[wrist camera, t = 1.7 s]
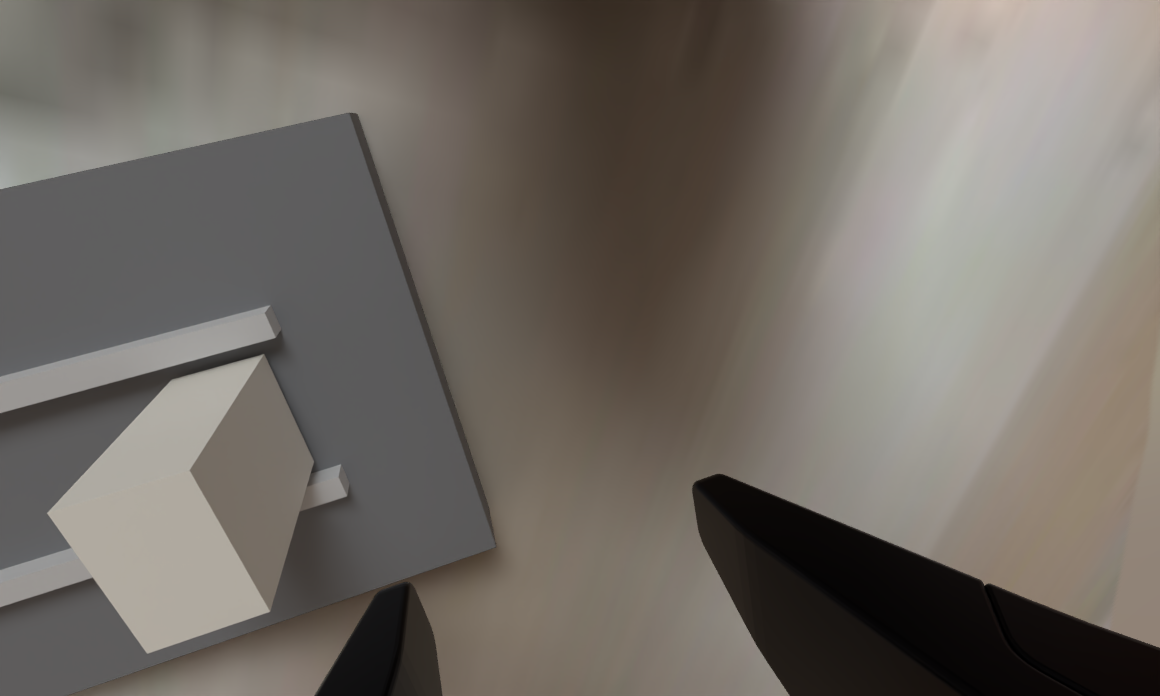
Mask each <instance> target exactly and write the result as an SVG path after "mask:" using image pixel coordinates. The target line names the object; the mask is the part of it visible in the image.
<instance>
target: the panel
mask: <svg viewBox="0 0 1160 696" xmlns="http://www.w3.org/2000/svg"><path fill="white" fill-rule="evenodd" d="M262 354H264V355H265V357H266V359H267V361H268V363H269V365H270V368H271V370H272V372H273V374H274V376H275V378H276V381H277V383H278V385H279V387H280V389H281V391H282V393H283V396H284V398H285V400H286V402H287V404H288V406H289V409H290V411H291V413H292V415H293V417H294V419H295V422H296V424H297V426H298V428H299V430H300V432H301V434H302V437H303V439H304V441H305V443H306V445H307V447H308V450H309V452H310V454H311V456H312V458H313V460H314V464H313V467H312V470H311V474H310V477H309V481H308V484H307V487H306V491H305V494H304V498H303V501H302V505H301V508H300V511H299V515H298V518H297V522H296V525H295V528H294V532H293V535H292V539H291V542H290V545H289V549H288V552H287V556H286V559H285V563H284V566H283V569H282V573H281V576H280V580H279V583H278V586H277V590H276V593H275V597H274V600H273V603H272V607H271V610H270V612H268V613H265V614H262V615H259V616H256V617H253V618H250V619H247V620H244V621H242V622H239V623H236V624H233V625H230V626H227V627H224V628H221V629H218V630H215V631H212V632H209V633H207V634H204V635H201V636H198V637H195V638H192V639H189V640H186V641H183V642H180V643H177V644H174V645H172V646H169V647H166V648H163V649H160V650H157V651H154V652H151V653H148V654H147V653H146V651H145V650H144V649H143V647H142V646H141V644H140V643H139V642H138V640H137V639H136V637H135V636H134V635H133V633H132V632H131V630H130V629H129V628H128V626H127V625H126V623H125V622H124V621H123V619H122V618H121V616H120V615H119V614H118V612H117V611H116V609H115V608H114V606H113V605H112V604H111V602H110V601H109V599H108V598H107V597H106V595H105V594H104V592H103V591H102V590H101V588H100V587H99V585H98V584H97V583H96V581H95V580H94V578H93V577H92V576H91V574H90V573H89V571H88V570H87V569H86V567H85V566H84V564H83V563H82V562H81V560H80V559H79V557H78V556H77V555H76V553H75V552H74V550H73V549H72V548H71V546H70V545H69V543H68V542H67V540H66V539H65V538H64V536H63V535H62V533H61V532H60V531H59V529H58V528H57V526H56V525H55V524H54V522H53V521H52V519H51V518H50V517H49V515H48V514H47V513H48V512H49V510H50V509H51V508H52V507H53V506H54V505H55V504H56V503H57V502H58V501H59V500H60V499H61V498H62V497H63V495H64V494H65V493H66V492H67V491H68V490H69V489H70V488H71V487H72V486H73V485H74V484H75V483H76V482H77V481H78V479H79V478H80V477H81V476H82V475H83V474H84V473H85V472H86V471H87V470H88V469H89V468H90V467H91V466H92V464H93V463H94V462H95V461H96V460H97V459H98V458H99V457H100V456H101V455H102V454H103V453H104V452H105V451H106V449H107V448H108V447H109V446H110V445H111V444H112V443H113V442H114V441H115V440H116V439H117V438H118V437H119V436H120V434H121V433H122V432H123V431H124V430H125V429H126V428H127V427H128V426H129V425H130V424H131V423H132V422H133V421H134V420H135V418H136V417H137V416H138V415H139V414H140V413H141V412H142V411H143V410H144V409H145V408H146V407H147V406H148V405H149V403H150V402H151V401H152V400H153V399H154V398H155V397H156V396H157V395H158V394H159V393H160V392H161V391H162V390H163V388H164V387H165V386H166V385H167V384H168V383H169V382H170V381H171V380H172V379H175V378H179V377H183V376H186V375H190V374H194V373H197V372H201V371H204V370H208V369H212V368H215V367H219V366H222V365H226V364H230V363H233V362H237V361H241V360H244V359H248V358H251V357H255V356H259V355H262ZM495 547H496V543H495V538H494V533H493V527H492V522H491V517H490V512H489V507H488V504H487V501H486V498H485V495H484V492H483V489H482V486H481V483H480V480H479V477H478V474H477V471H476V468H475V465H474V462H473V459H472V456H471V453H470V450H469V447H468V444H467V441H466V438H465V435H464V432H463V429H462V426H461V423H460V420H459V417H458V414H457V411H456V408H455V405H454V402H453V399H452V396H451V393H450V390H449V387H448V384H447V381H446V378H445V375H444V372H443V369H442V366H441V363H440V360H439V357H438V354H437V351H436V348H435V345H434V342H433V339H432V336H431V333H430V330H429V327H428V324H427V321H426V318H425V315H424V312H423V309H422V306H421V303H420V300H419V297H418V294H417V291H416V288H415V285H414V282H413V279H412V276H411V273H410V270H409V267H408V264H407V261H406V258H405V255H404V252H403V249H402V246H401V243H400V240H399V237H398V234H397V231H396V228H395V225H394V222H393V219H392V216H391V213H390V210H389V207H388V204H387V201H386V198H385V195H384V192H383V189H382V186H381V183H380V180H379V177H378V174H377V171H376V168H375V165H374V162H373V159H372V156H371V153H370V150H369V147H368V144H367V141H366V138H365V135H364V132H363V129H362V126H361V123H360V120H359V117H358V114H356V113H346V114H341V115H337V116H332V117H327V118H323V119H318V120H314V121H309V122H305V123H300V124H296V125H291V126H287V127H282V128H277V129H273V130H268V131H264V132H259V133H255V134H250V135H246V136H241V137H237V138H232V139H227V140H223V141H218V142H214V143H209V144H205V145H200V146H196V147H191V148H187V149H182V150H177V151H173V152H168V153H164V154H159V155H155V156H150V157H146V158H141V159H137V160H132V161H127V162H123V163H118V164H114V165H109V166H105V167H100V168H96V169H91V170H87V171H82V172H77V173H73V174H68V175H64V176H59V177H55V178H50V179H46V180H41V181H37V182H32V183H27V184H23V185H18V186H14V187H9V188H5V189H0V696H67V695H70V694H73V693H76V692H79V691H82V690H85V689H88V688H91V687H93V686H96V685H99V684H102V683H105V682H108V681H111V680H114V679H117V678H119V677H122V676H125V675H128V674H131V673H134V672H137V671H140V670H143V669H145V668H148V667H151V666H154V665H157V664H160V663H163V662H166V661H169V660H171V659H174V658H177V657H180V656H183V655H186V654H189V653H192V652H195V651H197V650H200V649H203V648H206V647H209V646H212V645H215V644H218V643H221V642H224V641H226V640H229V639H232V638H235V637H238V636H241V635H244V634H247V633H250V632H252V631H255V630H258V629H261V628H264V627H267V626H270V625H273V624H276V623H278V622H281V621H284V620H287V619H290V618H293V617H296V616H299V615H302V614H304V613H307V612H310V611H313V610H316V609H319V608H322V607H325V606H328V605H330V604H333V603H336V602H339V601H342V600H345V599H348V598H351V597H354V596H356V595H359V594H362V593H365V592H368V591H371V590H374V589H377V588H380V587H382V586H385V585H388V584H391V583H394V582H397V581H400V580H403V579H406V578H409V577H411V576H414V575H417V574H420V573H423V572H426V571H429V570H432V569H435V568H437V567H440V566H443V565H446V564H449V563H452V562H455V561H458V560H461V559H463V558H466V557H469V556H472V555H475V554H478V553H481V552H484V551H487V550H489V549H492V548H495Z"/></svg>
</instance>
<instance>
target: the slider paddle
mask: <svg viewBox="0 0 1160 696" xmlns="http://www.w3.org/2000/svg"><path fill="white" fill-rule="evenodd" d="M313 464H314V460H313V458H312V456H311V454H310V452H309V450H308V447H307V445H306V443H305V441H304V439H303V437H302V434H301V432H300V430H299V428H298V426H297V424H296V422H295V419H294V417H293V415H292V413H291V411H290V409H289V406H288V404H287V402H286V400H285V398H284V396H283V393H282V391H281V389H280V387H279V385H278V383H277V381H276V378H275V376H274V374H273V372H272V370H271V368H270V365H269V363H268V361H267V359H266V357H265V355H264V354H262V355H259V356H255V357H251V358H248V359H244V360H241V361H237V362H233V363H230V364H226V365H222V366H219V367H215V368H212V369H208V370H204V371H201V372H197V373H194V374H190V375H186V376H183V377H179V378H175V379H172V380H171V381H170V382H169V383H168V384H167V385H166V386H165V387H164V388H163V390H162V391H161V392H160V393H159V394H158V395H157V396H156V397H155V398H154V399H153V400H152V401H151V402H150V403H149V405H148V406H147V407H146V408H145V409H144V410H143V411H142V412H141V413H140V414H139V415H138V416H137V417H136V418H135V420H134V421H133V422H132V423H131V424H130V425H129V426H128V427H127V428H126V429H125V430H124V431H123V432H122V433H121V434H120V436H119V437H118V438H117V439H116V440H115V441H114V442H113V443H112V444H111V445H110V446H109V447H108V448H107V449H106V451H105V452H104V453H103V454H102V455H101V456H100V457H99V458H98V459H97V460H96V461H95V462H94V463H93V464H92V466H91V467H90V468H89V469H88V470H87V471H86V472H85V473H84V474H83V475H82V476H81V477H80V478H79V479H78V481H77V482H76V483H75V484H74V485H73V486H72V487H71V488H70V489H69V490H68V491H67V492H66V493H65V494H64V495H63V497H62V498H61V499H60V500H59V501H58V502H57V503H56V504H55V505H54V506H53V507H52V508H51V509H50V510H49V512H48V513H47V514H48V515H49V517H50V518H51V519H52V521H53V522H54V524H55V525H56V526H57V528H58V529H59V531H60V532H61V533H62V535H63V536H64V538H65V539H66V540H67V542H68V543H69V545H70V546H71V548H72V549H73V550H74V552H75V553H76V555H77V556H78V557H79V559H80V560H81V562H82V563H83V564H84V566H85V567H86V569H87V570H88V571H89V573H90V574H91V576H92V577H93V578H94V580H95V581H96V583H97V584H98V585H99V587H100V588H101V590H102V591H103V592H104V594H105V595H106V597H107V598H108V599H109V601H110V602H111V604H112V605H113V606H114V608H115V609H116V611H117V612H118V614H119V615H120V616H121V618H122V619H123V621H124V622H125V623H126V625H127V626H128V628H129V629H130V630H131V632H132V633H133V635H134V636H135V637H136V639H137V640H138V642H139V643H140V644H141V646H142V647H143V649H144V650H145V651H146V653H147V654H148V653H151V652H154V651H157V650H160V649H163V648H166V647H169V646H172V645H174V644H177V643H180V642H183V641H186V640H189V639H192V638H195V637H198V636H201V635H204V634H207V633H209V632H212V631H215V630H218V629H221V628H224V627H227V626H230V625H233V624H236V623H239V622H242V621H244V620H247V619H250V618H253V617H256V616H259V615H262V614H265V613H268V612H270V610H271V607H272V603H273V600H274V597H275V593H276V590H277V586H278V583H279V580H280V576H281V573H282V569H283V566H284V563H285V559H286V556H287V552H288V549H289V545H290V542H291V539H292V535H293V532H294V528H295V525H296V522H297V518H298V515H299V511H300V508H301V505H302V501H303V498H304V494H305V491H306V487H307V484H308V481H309V477H310V474H311V470H312V467H313Z"/></svg>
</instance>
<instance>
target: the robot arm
mask: <svg viewBox="0 0 1160 696" xmlns="http://www.w3.org/2000/svg"><path fill="white" fill-rule="evenodd" d="M692 493H693V499H694V506H695V512H696V518H697V525H698V530H699V534H700V537H701V540H702V542H703V545H704V547H705V549H706V551H707V553H708V554H709V556H710V558H711V560H712V562H713V564H714V566H715V568H716V570H717V572H718V574H719V575H720V577H721V579H722V581H723V583H724V585H725V587H726V589H727V591H728V593H729V594H730V596H731V598H732V600H733V602H734V604H735V606H736V608H737V610H738V612H739V613H740V615H741V617H742V619H743V621H744V623H745V625H746V627H747V629H748V630H749V632H750V634H751V636H752V638H753V640H754V641H755V643H756V645H757V647H758V648H759V650H760V651H761V653H762V655H763V656H764V658H765V659H766V661H767V662H768V664H769V665H770V667H771V668H772V670H773V671H774V673H775V674H776V676H777V677H778V679H779V680H780V682H781V683H782V685H783V686H784V688H785V689H786V691H787V692H788V694H789V695H790V696H1160V648H1159V647H1156V646H1153V645H1150V644H1148V643H1145V642H1142V641H1139V640H1136V639H1133V638H1130V637H1128V636H1125V635H1122V634H1119V633H1116V632H1114V631H1111V630H1108V629H1105V628H1102V627H1099V626H1097V625H1094V624H1091V623H1088V622H1086V621H1083V620H1081V619H1078V618H1075V617H1073V616H1070V615H1068V614H1065V613H1063V612H1060V611H1057V610H1055V609H1052V608H1050V607H1047V606H1045V605H1042V604H1039V603H1037V602H1034V601H1032V600H1029V599H1027V598H1024V597H1022V596H1019V595H1017V594H1014V593H1012V592H1010V591H1007V590H1005V589H1002V588H1000V587H997V586H995V585H992V584H986V585H985V586H984V584H983V582H982V581H981V580H980V579H977V578H975V577H972V576H970V575H967V574H965V573H963V572H960V571H958V570H955V569H953V568H950V567H948V566H946V565H943V564H941V563H938V562H936V561H933V560H931V559H928V558H926V557H924V556H921V555H919V554H916V553H914V552H911V551H909V550H907V549H904V548H902V547H899V546H897V545H894V544H892V543H889V542H887V541H885V540H882V539H880V538H877V537H875V536H872V535H870V534H867V533H865V532H863V531H860V530H858V529H855V528H853V527H850V526H848V525H846V524H843V523H841V522H838V521H836V520H833V519H831V518H828V517H826V516H824V515H821V514H819V513H816V512H814V511H811V510H809V509H807V508H804V507H802V506H799V505H797V504H794V503H792V502H789V501H787V500H785V499H782V498H780V497H777V496H775V495H772V494H770V493H767V492H765V491H763V490H760V489H758V488H755V487H753V486H750V485H748V484H746V483H743V482H741V481H738V480H736V479H733V478H731V477H728V476H726V475H723V474H715V475H712V476H710V477H707V478H704V479H701V480H698V481H696V482H695V483H694V484H693V488H692ZM315 696H442V689H441V681H440V674H439V666H438V659H437V651H436V644H435V639H434V635H433V631H432V628H431V625H430V623H429V620H428V618H427V616H426V613H425V611H424V609H423V606H422V604H421V602H420V599H419V597H418V595H417V592H416V590H415V588H414V586H413V585H412V584H411V583H409V582H404V583H401V584H398V585H395V586H392V587H389V588H386V589H383V590H381V591H379V592H378V593H377V594H376V595H375V597H374V598H373V600H372V602H371V603H370V605H369V606H368V608H367V610H366V611H365V613H364V615H363V616H362V618H361V620H360V621H359V623H358V625H357V626H356V628H355V630H354V631H353V633H352V634H351V636H350V638H349V639H348V641H347V643H346V644H345V646H344V648H343V649H342V651H341V653H340V654H339V656H338V658H337V659H336V661H335V663H334V664H333V666H332V667H331V669H330V671H329V672H328V674H327V676H326V677H325V679H324V681H323V682H322V684H321V686H320V687H319V689H318V691H317V692H316V694H315Z"/></svg>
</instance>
